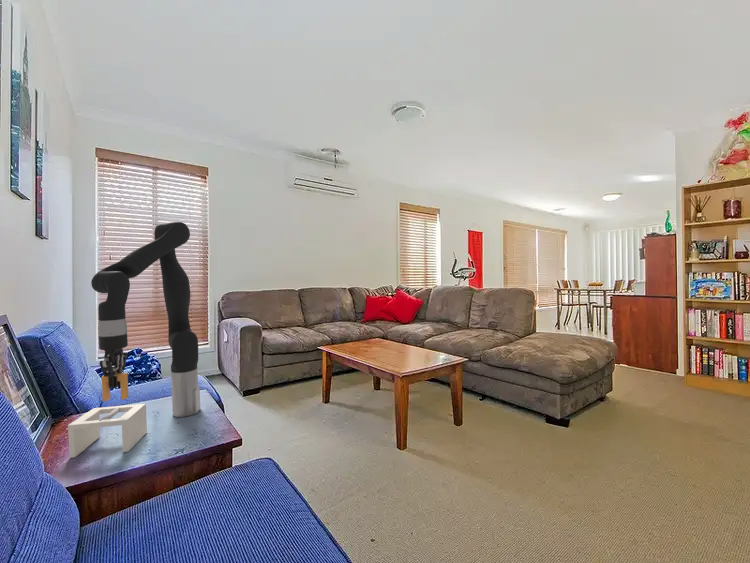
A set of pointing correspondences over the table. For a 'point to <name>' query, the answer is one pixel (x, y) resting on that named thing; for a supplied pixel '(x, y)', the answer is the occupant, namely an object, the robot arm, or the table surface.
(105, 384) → the orange u-shaped bracket
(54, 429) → the table surface
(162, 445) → the table surface
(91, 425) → the open-topped stand
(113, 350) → the robot arm
